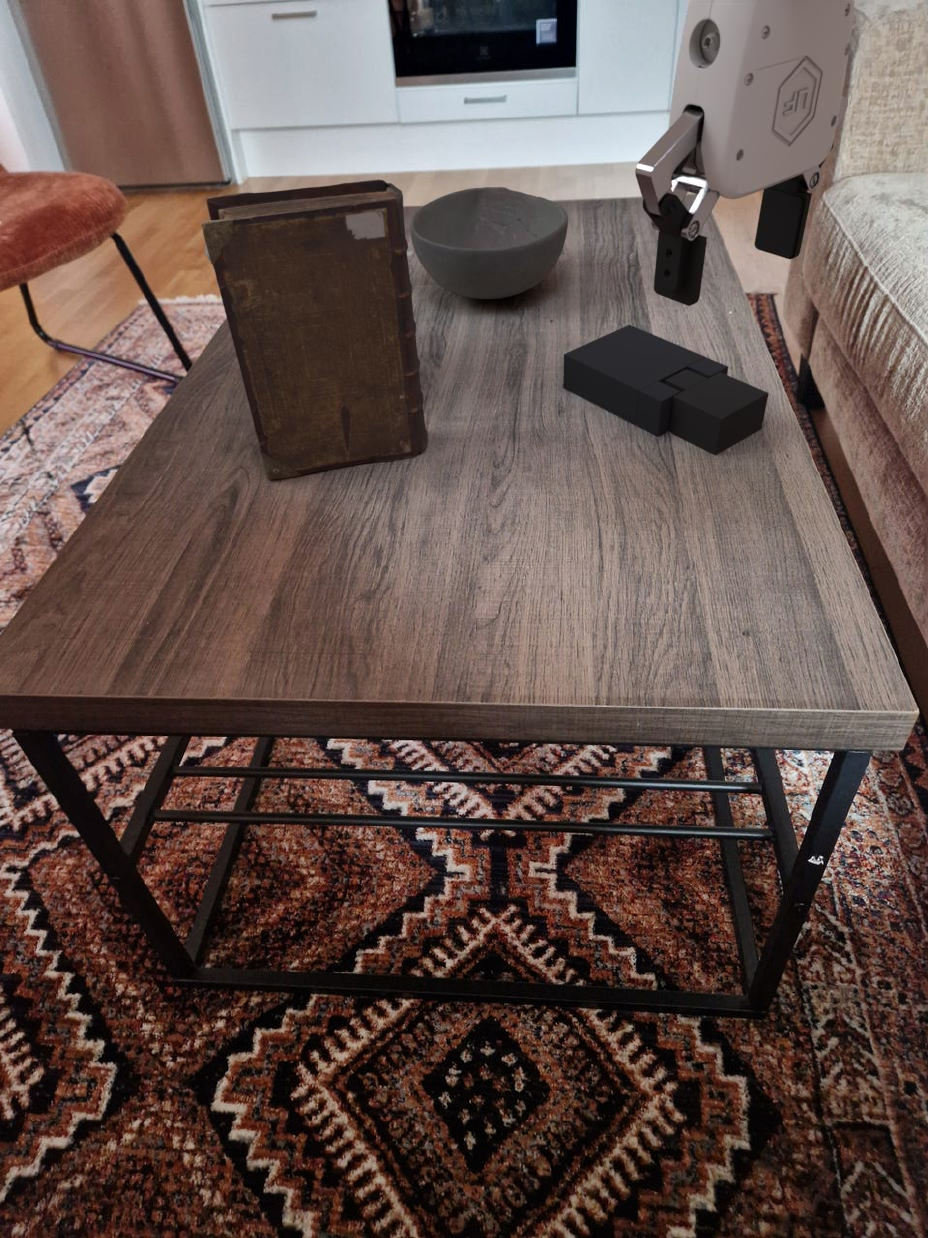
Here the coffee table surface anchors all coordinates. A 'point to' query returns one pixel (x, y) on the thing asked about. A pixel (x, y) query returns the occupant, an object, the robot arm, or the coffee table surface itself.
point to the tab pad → (715, 410)
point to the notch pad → (633, 375)
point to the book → (321, 322)
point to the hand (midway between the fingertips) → (727, 274)
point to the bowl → (489, 241)
